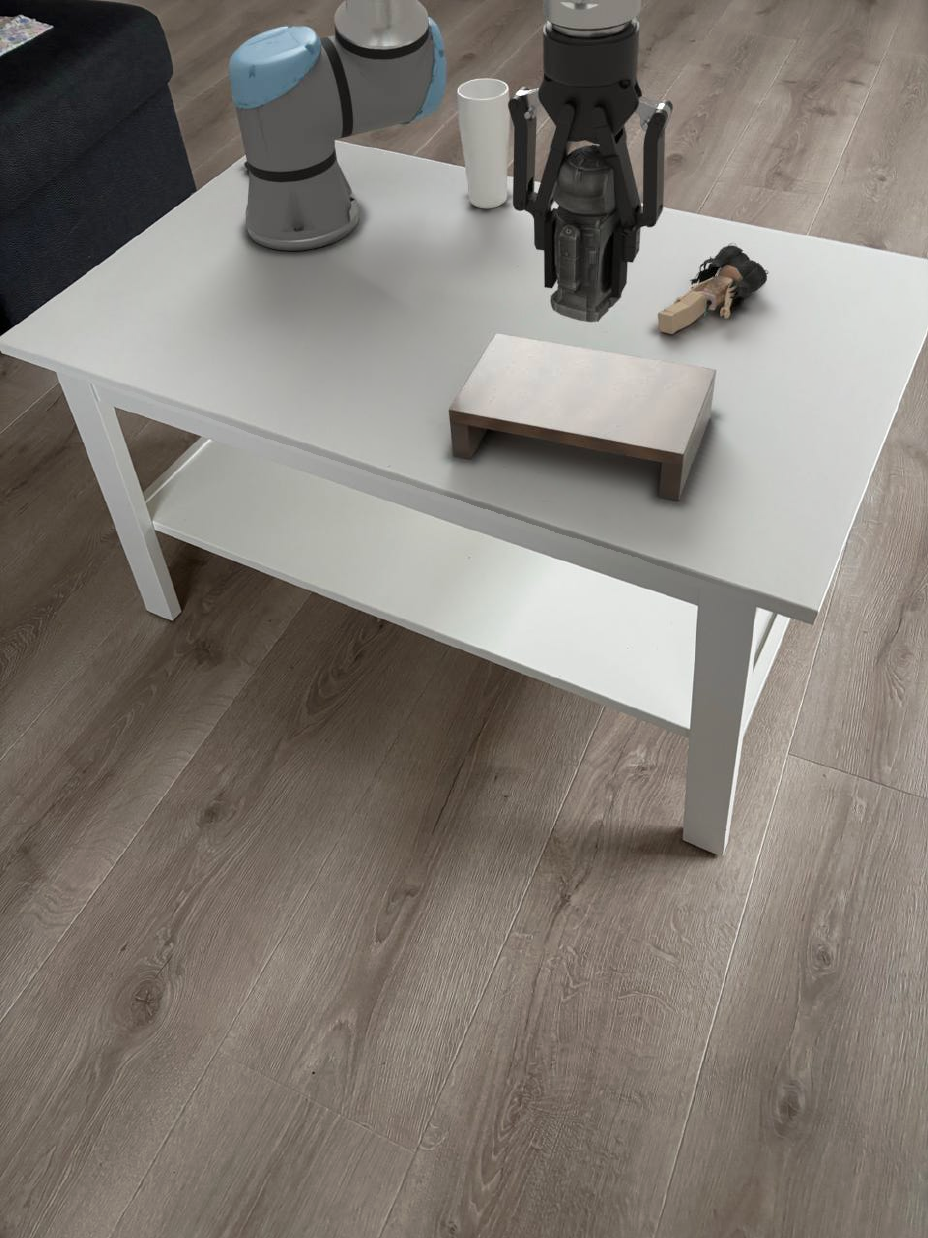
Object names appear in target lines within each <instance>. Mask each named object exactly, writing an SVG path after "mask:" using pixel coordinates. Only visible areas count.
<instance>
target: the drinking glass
mask: <svg viewBox="0 0 928 1238" xmlns="http://www.w3.org/2000/svg"><path fill="white" fill-rule="evenodd" d="M456 96H457V97H456V99H457V100H456V101H457V102H456V103H457V119H458V128H459V137H460V143H461V149H462V155H463V162H464V169H465V176H466V177H465V178H466V182H467V183H466V184H467V195H468V196H467V197H468V201H469V202H470V204H471V205H472V206H474V207H476V208H479V209H494V208H497V207H500V206H502V205H503V204H505V202H506V201H507V199H508V173H509V172H508V171H509V154H510V153H509V152H510V151H509V149H510V136H511V135H510V133H511V115H510V111H509V108H508V102H509V101H510V99H511V98H510V87H509V85H508V84H507V83H506V82H504V81H503V80H501V79H496V78H491V77H490V78H484V77H483V78H475V79H471V80H468V81H466V82H464V83H462V84H461V85H459V86H458V88H457V90H456Z"/></svg>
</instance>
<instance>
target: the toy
mask: <svg viewBox="0 0 928 1238" xmlns="http://www.w3.org/2000/svg"><path fill="white" fill-rule="evenodd" d="M552 197H553V199H554V203H555V204H556V205H557V211H556V230H555V233H554V241H555V267H556V276H557V281H556V284H557V289H556V290H555V291H554V292H553V293H552V294H551V295H550V307H551V309H552V311H553V312H555V313H557V314H559V315H560V316H562V317H565V318H566V317H567V318H569V319H572V320H576V321H579V322H585V323H599V322H600V320H601V319H602V318H603V317H604V316H605V315H606V314H607V313H608V312H609V310H610V309H611V308H612V307H613V306H615V305H616V303H618V301H619V300H620V299H621V298H622V294H623V292H622V293H621V295H620V297H619V298H613V297H611V281H612V257H613V233H614V230H615V228H616V226H617V225H618V223H619V221H620V215H619V211H618V207H617V203H616V199H615V196H614V178H613V170H612V169H611V168H610V167H609V166H607V164H606V160H605V158H604V157H603V156H602V154H601V150H600V146H599V145H598V144H591V145H590V144H589V145H588V144H587V145H583V146H581V147H577V148H575V149H573V150H572V151H571V152H569V153H568V155H567V156H566V157H565V159H564V161H563V163H562V165H561V167H560V170H559V173H558V179H557V184H556V188H555V190H554V193H553V196H552Z"/></svg>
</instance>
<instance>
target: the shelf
mask: <svg viewBox="0 0 928 1238" xmlns="http://www.w3.org/2000/svg"><path fill="white" fill-rule="evenodd" d="M716 376H717V369H714V368H709V367H708V368H707V367H701V366H695V365H690V364H683V363H678V362H671V361H665V360H660V359H653V358H647V357H641V356H635V355H630V354H624V353H618V352H611V351H605V350H598V349H594V348H586V347H582V346H581V347H580V346H576V345H575V346H574V345H569V344H563V343H557V342H551V341H544V340H540V339H539V340H538V339H533V338H528V337H521V336H515V335H509V334H503V333H498V332H497V333H494V336H493V337H492V339H491V341H490V342H489V344H488V346H487V347H486V349H485V350H484V352H483V353H482V355H481V357H480V359H478V362H477V363H476V365H475V366H474V368H473V369H472V372H470V375H469V376H468V378H467V379H466V381H465V383H464V384H463V386H462V388H461V389H460V391H459V392H458V394H457V395H456V397H455V399H454V400H453V402H452V403H451V405H450V407H449V408H448V419H449V428H450V439H451V453H452V457H457V458H461V459H466V460H471V459H472V457H473V455H474V453H475V452H476V450H477V449H478V447H479V445H480V443H481V441H482V439H484V436H485V434H486V432H487V431H488V430H492V431H497V432H502V433H508V434H512V435H518V436H523V437H527V438H533V439H537V440H543V441H548V442H553V443H559V444H563V445H569V446H574V447H581V448H586V449H589V450H596V451H601V452H606V453H610V454H616V455H621V456H626V457H632V458H636V459H642V460H646V461H647V460H648V461H651V462H659V463H661V470H660V480H659V481H660V482H659V490H658V491H659V492H658V498H659V499H665V500H669V501H672V502H673V501H674V502H679V501H680V499H681V496H682V493H683V491H684V488H685V486H686V483H687V480H688V478H689V475H690V472H691V470H692V467H693V464H694V461H695V458H696V456H697V453H698V450H699V448H700V445H701V443H702V440H703V438H704V435H705V432H706V429H707V426H708V424H709V421H710V419H711V415H712V414H711V412H712V406H713V399H714V391H715V382H716Z"/></svg>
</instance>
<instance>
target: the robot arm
mask: <svg viewBox="0 0 928 1238" xmlns="http://www.w3.org/2000/svg"><path fill="white" fill-rule="evenodd" d="M542 1H543V2H542V5H543V6H542V9H543V13H542V15H543V16H544V18H545V20H546V23H544V25H543V28H542V42H543V43H542V59H543V60H542V61H543V78H542V81H541V84H540V85H539V87H535V88H531V89H529V88H528V86H527V87H526V86H520V87H519V88H518V89H517V91H515V93H514V94H513V95H512V97H511V98H510V101H509V102H508V108H509V111H510V119H511V122H512V124H513V169H512V170H513V171H512V172H513V173H512V174H513V175H512V176H513V177H512V206H513V208H514V210H516V211H519V212H523V211H525V212H527V213H529V214H530V216H532V218H533V245H534V247H535V250H536V251H543V273H544V274H543V275H544V276H543V279H544V281H543V282H544V283H543V284H544V286H543V287H544V288H546V289H553V287H554V286H555V285H556V284H557V276H556V267H555V241H554V233H555V230H556V211H557V208H558V207H557V208H556V207H553V208H552V206H553V205H554V203H555V201H554V199H553V197H552V196H553V193H554V190H555V188H556V184H557V179H558V173H559V170H560V167H561V165H562V163H563V161H564V159H565V157H566V156H567V155H568V154H570V149H571V147H572V143H573V142H574V143H577V142H584V141H585V142H589V143H591V144H592V145H598V146H600V150H601V154H602V156H603V157H604V158H605V160H606V164H607V166H609V167H610V168H611V169H612V170H613V178H614V196H615V199H616V203H617V207H618V211H619V215H620V221H619V223H618V225H617V226H616V228H615V230H614V233H613V257H612V281H611V297H613V298H619V297H620V295H621V296H622V294H623V292H624V290H625V287H626V286H627V281H628V265H629V264H628V263H634V262H635V259H636V258H637V255H638V253H639V251H640V245H641V244H640V243H641V230H642V229H641V228H643V227H647V228H653V227H655V226H656V224H657V223H658V220H659V219H660V217H661V215H662V213H663V211H664V200H665V199H664V195H665V194H664V193H665V155H666V154H665V151H666V150H665V149H666V128H667V125H668V123H669V120H670V117H671V116H672V112H673V109H674V104H673V103H672V101H671V100H669V99H663V100H661V101H659V102H657V101H655V100H652V99H651V98H648V97H645V96H643V92H642V89H641V87H640V85H639V81H638V62H639V43H640V26H641V25H640V22H639V21H638V20H637V17H638V16H639V15H640V12H641V9H642V0H542ZM333 20H334V21H333V23H334V35H329V36H328V35H327V36H325V37H321V38H320V37H319V36H318V34H317V32H316V31H315V30H314V29H313V28H310V27H308V26H304V25H294V26H292V27H289V26H287V25H285V26H281V27H276V28H272V29H269V30H266V31H263V32H261V33H258V34H256V35H254V36H252V37H250V38H248V39H247V40H246V41H245V42H243V43H242V44H241V45H239V47H238V48H237V49H236V50H235V51H234V52H233V53H232V55H231V56H230V59H229V62H228V76H229V83H230V90H231V91H230V92H231V101H232V103H233V105H234V107H235V112H236V117H237V122H238V126H239V131H240V135H241V139H242V145H243V150H244V155H245V159H246V161H245V162H244V164H243V165H244V168H246V169H247V170H248V173H249V178H248V188H247V189H248V190H247V205H246V209H245V223H246V227H247V231H248V234H249V236H250V238H251V239H252V240H253V241H254V242H256V243H257V244H259V245H261V246H263V247H266V248H269V249H274V250H278V251H287V252H288V251H290V252H293V251H306V250H312V249H317V248H322V247H324V246H327V245H330V244H333V243H335V242H337V241H339V240H341V239H343V238H345V237H346V236H348V235H349V234H350V233H351V232H352V231H353V230H354V229H355V228H356V226H357V225H358V222H359V220H360V213H359V206H358V202H357V201H358V200H357V199H356V196H355V193H354V192H353V190H352V187H351V186H350V183H349V182H348V179H347V177H346V175H345V173H344V172H343V170H342V168H341V166H340V164H339V161H338V157H337V151H336V141H337V140H340V139H341V140H342V139H344V138H348V137H349V138H350V137H353V136H357V135H361V134H365V133H369V132H373V131H377V130H382V129H386V128H389V127H393V126H398V125H402V126H403V125H404V126H405V125H410V124H411V123H414V122H415V121H416V120H421V119H423V118H427V117H429V116H431V115H433V114H434V113H435V112H436V111H438V108H439V107H440V105H441V103H442V101H443V98H444V95H445V91H446V84H447V59H446V57H445V56H444V54H445V44H444V40H443V36H442V34H441V31H440V28H439V26H438V25H437V23H436V22H435V21H434V20H433V18H431V17H430V16H429V13H428V10H427V8H426V7H425V6H424V5H423V4H422V3H421V2H419V0H344V1H343V2H342V3H341V4H340V5H339V6H338V7H337V9H336V11H335V13H334V16H333ZM541 105H542V107H543V109H544V110H545V112H546V114H547V115H548V116H549V118H550V120H551V121H552V123H553V124H554V126H555V129H554V131H553V136H552V139H551V143H550V147H549V148H550V149H549V153H548V156H547V159H546V163H545V167H544V171H543V174H542V176H541V180H540V183H539V187H538V190H537V192H536V191H535V180H536V179H535V178H536V151H537V149H536V148H537V115H538V114H539V112H540V111H541ZM635 113H636V114H637V115H638V117H639V118H640V120H639V125H640V128H641V130H642V131H643V132H645V134H644V138H643V146H642V152H643V153H642V155H643V156H642V163H643V164H642V171H643V172H642V203H641V198H640V194H639V191H638V187H637V186H638V185H637V182H636V178H635V174H634V169H633V166H632V161H631V157H630V152H629V149H628V144H627V139H628V138H627V136H628V135H627V131H626V126H625V125H626V124H627V123H628V121H629V120H630V119H631V117H632V116H633V115H634V114H635ZM621 293H622V294H621Z"/></svg>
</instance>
